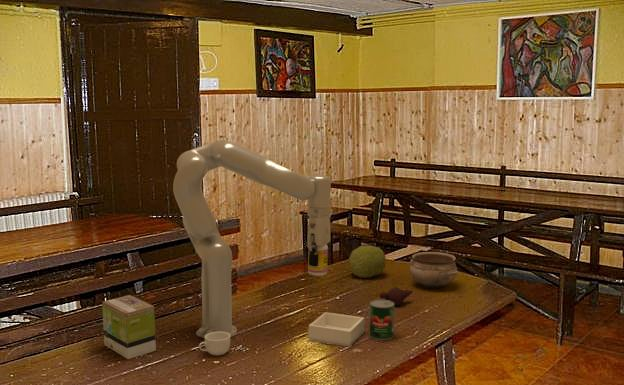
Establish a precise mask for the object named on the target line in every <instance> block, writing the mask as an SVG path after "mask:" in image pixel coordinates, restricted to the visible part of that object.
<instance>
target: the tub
mask: <svg viewBox="0 0 624 385" xmlns="http://www.w3.org/2000/svg"><path fill="white" fill-rule="evenodd" d="M365 322H366V320H365V317H362V316H356V315H355V316H354V315H347V314H342V313H341V314H340V313H335V312H328V311H327V312H326V311H325V312H323V313H322V314H321V315H320V316H318V317H317V318H316V319H314V321H313V322H311V323H310V324H308V341H309V342H315V343H320V344H321V343H323V344H327V345H328V344H329V345H335V346H340V345H341V346H342V347H346V346H347V347H349V348H351V347H352V346H353V345H354V344H355V342H357V341H358V340H359V338H360V337H362V335H363V334H364V333H365ZM353 343H354V344H353ZM352 344H353V345H352Z"/></svg>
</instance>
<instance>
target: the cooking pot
mask: <svg viewBox="0 0 624 385" xmlns="http://www.w3.org/2000/svg"><path fill="white" fill-rule="evenodd" d="M411 257H412V258H411V259H410V266H409V272H410V275H411V277H412V279H413V280H415V281H416V282H417V283H418V284H420V285H422V286H424V287H425V288H427V289H433V288H436V289H440V287H441V288H442V287H444V286H446V285H448V284H450V283H452V282H453V281H454V280H455V279H456V277H457V275H458V274H459V271H458V268H457V264H456V261H455V260H456V259H457V258H456V256H455V255H453V254H450V253H445V252H437V251H422V252H417V253H414V254H412V255H411Z"/></svg>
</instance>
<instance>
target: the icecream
mask: <svg viewBox="0 0 624 385" xmlns="http://www.w3.org/2000/svg"><path fill="white" fill-rule="evenodd" d="M412 294H413V290H409V289H400V288H399V287H397V286H394V287H393V288H390V289H389V290H388V291H387V292H385V291H382V292H380V293H379V298H380V299H382V300H389V301H392V302H394V306H401V305H403V304H404V303H405V302H404V301H405V300H406V299H407V298H408V297H409V296H410V295H412Z"/></svg>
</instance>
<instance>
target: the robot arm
mask: <svg viewBox="0 0 624 385" xmlns="http://www.w3.org/2000/svg"><path fill="white" fill-rule="evenodd" d="M220 167H222V168H224V169H226V170H228V171H230V172H232V173H235V174H237V175H239V176H241V177H244V178H247V179H249V180H250V181H253V182H256V183H258V184H260V185H262V186H266V187H270V188H272V189H274V190H276V191H279V192H281V193H284V194H286V195H288V196H291V197H292V198H295V199H297V200H299V201H306V200H307V217H308V224H307V225H308V226H307V239H306V240H307V245H306V246H307V249H308V250H309V265H310V266H318V254H317V253H318V248H319V247H322V246H324V245H327V246H328V244H329V243H330V242H331V219H330V216H331V185H332V183H331V182H332V180H331V177H330V176H329V175H327V174H326V175H325V174H312V175H306V174H299V173H298V172H296V171H293V170H290V169H288V168H287V167H284V166H283V165H281V164H279V163H276V162H275V161H273V160H271V159H269V158H268V157H266V156H263V155H261V154H258V153H257V152H254V151H252V150H250V149H248V148H245V147H244V146H241V145H239V144H238V143H235V142H233V141H229V140H227V139H221V140H220V139H219V140H217V141H213V142H211V143H207V144H205V145H202V146H199V147H196V148H192V149H190V150H187V151H184V152H182V153H181V154H180V155H179V156H178V159H177V160H176V168H177V172H175V175H174V179H173V184H172V185H173V186H172V189H173V195H174V198H175V201H176V203H177V205H178V208H179V210H180V213H181V214H182V224H183V227H184V229H185V231H186V233H187V234H188V237H189V239H190V241H191V243H192V245H193V246H192V247H193V248H194V249H195V251H196V254H197V255H198V256H199V258H200V260H201V304H202V306H201V308H202V309H201V310H202V311H201V312H202V313H201V314H202V323H201V327H199V329H198V330H197V331H196V332H195V335H196V336H197V337H200V338H202V339H205V335H206V334H208V333H211V332H218V331H221V332H227V333H229V334H230V338H231V337H234V336H235V335H237V332H238V329H237V327H236V326H235V325H233V318H232V317H233V314H232V312H233V310H232V309H233V307H232V305H233V304H232V300H233V298H232V269H233V268H232V266H233V253H232V249H231V247H230V246H229V244H228V243H227V241H225V240H224V239H223V237H222V236H221V234H220V231H219V230H218V227H217V220H216V217H215V215H214V214H213V212H212V210H211V209H210V207H209V205H208V202H207V200H206V197H205V195H204V194H203V193H204V192H203V190H202V183H203V179H204V178H205V177H206V175H207V173H208V172H209V171H212V170H215V169H218V168H220ZM313 244H316V245H313ZM313 247H316V249H314V248H313Z"/></svg>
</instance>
